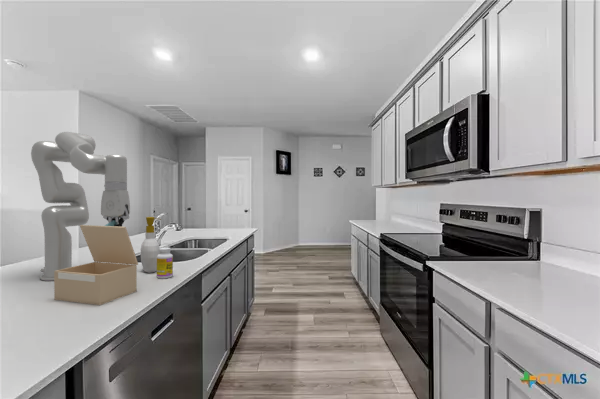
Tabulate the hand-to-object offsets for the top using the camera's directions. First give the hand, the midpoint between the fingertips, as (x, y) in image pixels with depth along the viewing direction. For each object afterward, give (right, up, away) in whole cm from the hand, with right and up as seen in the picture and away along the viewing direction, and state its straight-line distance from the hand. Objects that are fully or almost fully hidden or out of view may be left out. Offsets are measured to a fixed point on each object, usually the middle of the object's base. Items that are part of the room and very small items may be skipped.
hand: (116, 234), depth 125 cm
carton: (-2, -21, -8) cm, 23 cm away
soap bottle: (0, -21, +30) cm, 37 cm away
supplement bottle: (+11, -21, +19) cm, 30 cm away
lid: (-1, -4, -3) cm, 5 cm away
